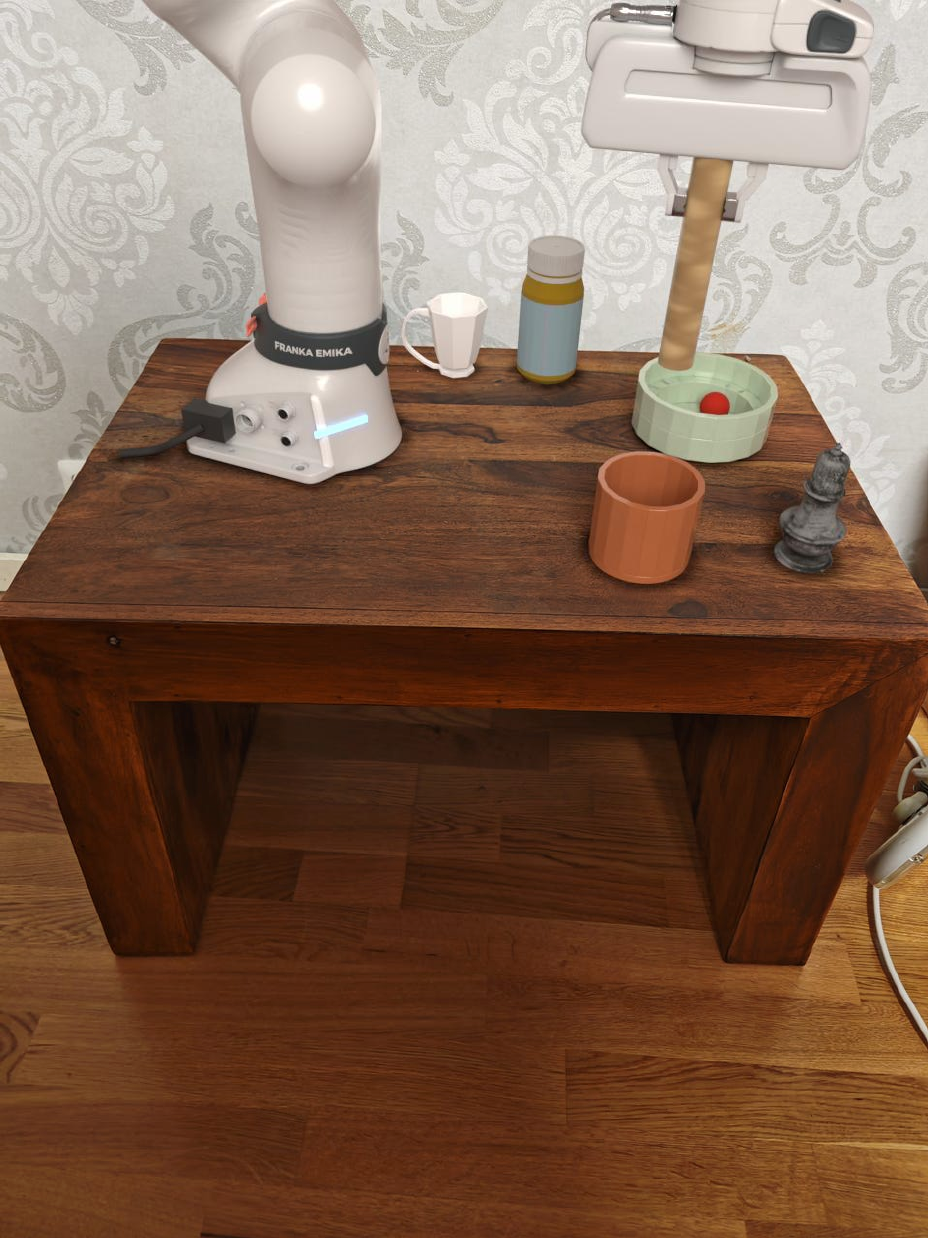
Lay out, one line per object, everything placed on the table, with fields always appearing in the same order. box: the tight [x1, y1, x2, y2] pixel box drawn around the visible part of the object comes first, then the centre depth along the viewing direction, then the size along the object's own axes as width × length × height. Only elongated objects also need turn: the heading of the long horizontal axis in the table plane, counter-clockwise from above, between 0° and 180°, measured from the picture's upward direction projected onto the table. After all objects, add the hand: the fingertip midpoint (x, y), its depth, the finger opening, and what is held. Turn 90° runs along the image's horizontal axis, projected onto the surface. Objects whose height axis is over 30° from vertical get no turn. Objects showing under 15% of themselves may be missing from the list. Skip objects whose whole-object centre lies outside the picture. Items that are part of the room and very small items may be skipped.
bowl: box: [631, 351, 779, 464], centre depth 104 cm, size 14×14×6 cm
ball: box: [699, 392, 730, 415], centre depth 105 cm, size 3×3×3 cm
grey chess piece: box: [773, 442, 852, 574], centre depth 86 cm, size 6×6×12 cm
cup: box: [400, 291, 489, 379], centre depth 113 cm, size 7×10×8 cm
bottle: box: [516, 235, 586, 385], centre depth 110 cm, size 7×7×15 cm
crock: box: [587, 450, 706, 585], centre depth 87 cm, size 9×9×8 cm
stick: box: [658, 157, 734, 371], centre depth 78 cm, size 3×3×18 cm
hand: (702, 216), depth 75 cm, fingers closed on stick, 3 cm apart
